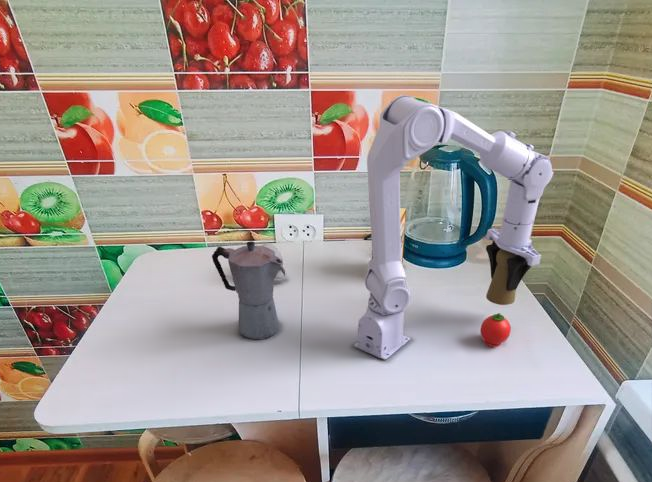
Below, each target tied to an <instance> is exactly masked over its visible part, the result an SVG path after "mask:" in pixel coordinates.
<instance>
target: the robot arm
mask: <svg viewBox="0 0 652 482" xmlns="http://www.w3.org/2000/svg"><path fill="white" fill-rule="evenodd" d="M516 135H517V134H516V133H514V132H513V131H511V130H505V132H504V131H502V130H499V131H496V132H493V133H491V134H490V133H488V132H486V131H485V130H484V129H483V128H481V127H479V126H478V125H476V124H474V123H473V122H472V121H470V120H468V119H467V118H465V117H463V116H462V115H460V114H459V113H458V112H456V111H453V110H451V109H447V108H445V107H443V106H442V107H441V106H439V105H436V104H433V103H430V102H428V101H424V100H419V99H416V98H415V97H413V96H411V95H408V94H401V95H398V96H397V97H395V98H394V99H392V100H391V101H390V102H389V104H387V106H386V107H385V108H384V109H383V110H382V111H381V112H380V114H379V125H378V127H377V130H376V133H375V135H374V138H373V141H372V143H371V146H370V148H369V150H368V153H367V157H366V169H367V185H368V202H369V218H370V219H369V220H370V235H371V237H370V239H371V257H372V256H373V259H372V258H371V259H370V260H368V262H367V264H368V265H367V266H368V267H367V271H366V275H365V278H364V285H365V288H366V289H367V291H368V292H369V297H368V302H367V308H366V311H365V312H364V314H363V315H362V316H361V317H360V318H359V320H358V321H357V322H358V323H357V342H356V343H354V348H356V349H358V350H361V351H364V352H365V353H368V354H370V355H372V356H374V357H377V358H379V359H382V361H383V360H384V361H386V360H388V359H389V358H390V357H391V356H392V355H394V354H395V353H396V352H397V351H399V350H400V349H401V348H402V347H403V346H404V345H406V344H407V343H408V342H409V341H411V337H409V336H407V335H405V334H403V331H404V317H405V309H406V308H407V307H408V306H409V305H410V302H411V300H412V292H411V289H410V288H409V286H408V284H407V275H406V271H405V269H404V266H403V262H402V263H401V224H400V207H401V179H400V178H401V171H402V170H403V169H404V168H405V167H406V166H407V165H408V164H409V163H410V162H411V161H414V160H415V159H417V158H418V157H419V156H421V155H423V154H424V153H426V152H427V151H429V150H431V149H433V147H435V146H436V145H437V143H440V144H445V143H446V142H448V141H449V140H452V141H454V142H456V143H458V144H461V145H463V146H465V147H467V148H469V149H471V150H472V151H474V152H476V153H478V154H479V160H480V163H481V164H482V166H483V167H486V168H487V169H489V170H491V171H493V172H495V173H497V174H499V175H501V176H502V177H504V178H506V179H507V180H508V181H509V187H508V191H507V197H506V202H505V207H504V211H503V216H502V221H501V225H500V229H498V228H489V229H487V232H486V237H485V239H486V240H487V241H492V243H491V244H487V245H486V247H485V250H486V253H487V256H488V259H489V265H490V266H489V267H490V278H491V280H492V278H493V275H494V272H495V270H496V267H497V262H496V256H497V253H498V251H499V250H500V249H503V250H506V251H509V252H512V253H514V254H515V255H516V258H509V259H507V265H508V278H507V284H506V289H507V290H508V291H510V290H515V289H516V290H517V288H518V287H519V285H520V283H521V282H522V280H523V278H524V277H525V275H526V274H527V272H529V270H530V269H531V268H532V267H534V266H538V265H540V262H541V258H542V254H540V253H539V252H537V250H535V248H534V247H533V246H532V242H533V241H532V239H531V238H530V237H531V233H532V230H533V226H534V222H535V217H536V213H537V210H538V206H539V201H540V199H541V197H542V196H543V193H544V190H545V188H546V186H547V185H548V184H549V183H550V182H551V180H552V178H553V176H554V173H555V172H554V171H553V166H552V162H551V159H550V157H548V156H547V155H544V154H542V153H539V152H537V151H534V148H535V146H534V145H532V144H531V143H526V144H525V143H522V142H521V141H519V140H517V139H516Z"/></svg>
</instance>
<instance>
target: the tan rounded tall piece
mask: <svg viewBox="0 0 652 482" xmlns="http://www.w3.org/2000/svg"><path fill="white" fill-rule="evenodd" d="M509 258H516V255H515V254H514V253H512V252H509V251H506V250H503V249H500V250H499V251H498V253H497V256H496V262H497V267H496V270H495V272H494V275H493V278H492V279H491V281H490V284H489V287H488V290H487V292H486V295H485V298H486V300H487V301H489V302H490V303H492V304H495V305H498V306H499V305H500V306H508V305H511V304H513V303H515V302H516V291H517V288H516V289H515V290H510V291H508V290H507V289H506V284H507V278H508V265H507V259H509Z"/></svg>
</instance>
